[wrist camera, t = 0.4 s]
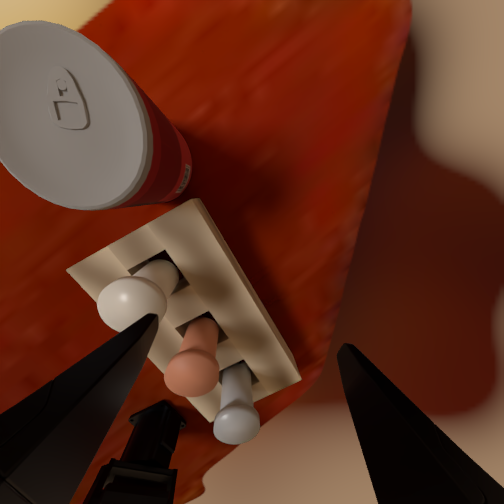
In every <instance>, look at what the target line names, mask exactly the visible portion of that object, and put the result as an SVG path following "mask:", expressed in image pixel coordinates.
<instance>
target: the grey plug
mask: <svg viewBox="0 0 504 504" xmlns="http://www.w3.org/2000/svg"><path fill="white" fill-rule="evenodd" d="M259 430H260V421H259V414H258V412H257V410H256V409H255V408H253V396H252V384H251V372H250V369H249V368H248V367H247V366H246V365H243V364H233V365H231V366H228V367H226V368H225V370H224V371H223V377H222V391H221V405H220V411H219V412H218V413H217V414H216V416H215V419H214V430H213V431H214V435H215V437H216V438H217V439H218V440H220V441H221V442H224V443H227V444H241V443H245V442H248V441H250V440H251V439H253V438H254V437H255V436H256V435H257V434H258V432H259Z"/></svg>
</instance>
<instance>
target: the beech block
mask: <svg viewBox="0 0 504 504" xmlns="http://www.w3.org/2000/svg"><path fill="white" fill-rule="evenodd" d="M163 250H166V251H167V253H168V254H169V256H170V257H171V258H172V260H173V261H174V263H175V264H176V265H177V267H178V268H179V270H180V271H181V272H182V274H183V275H184V278H182V279H180V280H179V282H178V284H177V285H176V287H175V288H174V290H173V292H172V293H171V295H170V296H169V298H168V299H167V311H166V313H165V315H164V317H163V319H162V321H161V322H160V324H159V328H158V332H157V334H156V336H155V339H154V341H153V344H152V346H151V348H150V351H149V353H148V356H147V357H148V358H149V359H150V360H151V361H152V362H153V363H154V364H155V365H156V366H157V367H158V368H159V369H160V370H161V371H162V372H163V373H164V374H165V371H166V368H167V366H168V363H169V361H170V360H171V358H172V357H173V356H174V355H176V354H177V353H179V350H180V347H181V344H182V342H183V339H184V336H185V333H186V331H187V328H188V325H189V324H190V322H191V321H193V319H194V318H196V317H197V316H199V315H201V314H203V313H205V312H207V311H210V313H211V314H212V316H213V317H214V318H215V320H216V321H217V325H218V328H219V334H218V342H217V350H216V360H217V361H218V363H219V368H220V369H219V380H218V383H217V385H216V386H215V388H214V389H213V390H212V391H210V392H209V393H207V394H205V395H202V396H199V397H186V398H187V399H188V400H189V401H190V402H191V403H192V404H193V405H194V406H195V407H196V408H197V410H198V411H199V412H200V413H201V414H202V415H203V416H204V417H205V418H206V419H207V420H208V421H209V422H212V421H214V419H215V416H216V414H217V413H218V412H219V411H220V405H221V391H222V377H223V371H224V370H225V368H226V367H228V366H231V365H233V364H235V363H237V362H239V361H241V360H243V359H244V360H245V362H244V363H242V364H243V365H246V366H247V367H248V368H249V369H250V372H251V384H252V396H253V402H255V401H257V400H259V399H262V398H264V397H266V396H268V395H270V394H272V393H274V392H277V391H279V390H281V389H283V388H285V387H287V386H289V385H291V384H294V383H296V382H298V381H300V380H302V379H301V376H300V374H299V371H298V368H297V365H296V362H295V360H294V357H293V354H292V353H291V351H290V349H289V348H288V346H287V344H286V343H285V341H284V339H283V338H282V336H281V334H280V332H279V331H278V329H277V327H276V326H275V324H274V322H273V321H272V319H271V317H270V316H269V314H268V312H267V311H266V309H265V307H264V306H263V304H262V302H261V301H260V299H259V297H258V295H257V294H256V292H255V290H254V289H253V287H252V285H251V284H250V282H249V280H248V279H247V277H246V275H245V274H244V272H243V270H242V269H241V267H240V265H239V264H238V262H237V260H236V258H235V257H234V255H233V253H232V252H231V250H230V248H229V247H228V245H227V243H226V242H225V240H224V238H223V237H222V235H221V233H220V232H219V230H218V228H217V226H216V225H215V223H214V221H213V220H212V218H211V216H210V215H209V213H208V211H207V210H206V208H205V206H204V205H203V203H202V201H201V200H200V198H195V199H190V200H189V201H187V202H185V203H183V204H181V205H180V206H178V207H176V208H174V209H173V210H171V211H169V212H167V213H166V214H164V215H162V216H160V217H158V218H157V219H155V220H153V221H151V222H150V223H148V224H146V225H144V226H142V227H141V228H139V229H137V230H135V231H134V232H132V233H130V234H128V235H127V236H125V237H123V238H121V239H119V240H118V241H116V242H114V243H112V244H111V245H109V246H107V247H105V248H103V249H102V250H100V251H98V252H96V253H95V254H93V255H91V256H89V257H88V258H86V259H84V260H82V261H80V262H79V263H77V264H75V265H73V266H72V267H70V268H68V269H66V271H67V272H68V273H69V274H70V275H71V276H72V277H73V278H74V279H75V280H76V281H77V282H78V283H79V284H80V285H81V286H82V288H83V289H84V290H85V291H86V292H87V293H88V294H89V295H90V296H91V297H92V298H93V299H94V300H95V301H96V302H97V301H98V297H99V295H100V293H101V291H102V290H103V289H104V288H105V287H107V286H108V285H109V284H111V283H112V282H114V281H115V280H117V279H119V278H121V277H125V276H133V275H134V274H135V273H136V272H138V271H139V270H140V269H141V268H143V267H144V266H145V265H147V264H148V263H149V261H148V260H147V259H149V258H150V257H152V256H154V255H156V254H158V253H159V252H161V251H163Z"/></svg>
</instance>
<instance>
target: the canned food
mask: <svg viewBox="0 0 504 504" xmlns="http://www.w3.org/2000/svg"><path fill="white" fill-rule="evenodd" d="M0 161H1V162H2V164H3V165H4V166H5V167H6V168H7V170H8V171H9V172H10V173H11V174H12V175H13V176H14V177H15V178H16V179H17V180H18V181H20V182H21V183H22V184H23V185H24V186H25V187H27V188H28V189H30V190H31V191H32V192H34V193H35V194H37V195H38V196H40V197H42V198H44V199H46V200H48V201H50V202H52V203H54V204H57V205H61V206H64V207H67V208H72V209H80V210H104V209H117V208H125V207H133V206H141V205H149V204H157V203H165V202H168V201H172V200H173V199H175V198H177V197H178V196H179V195H181V194H182V193H183V192H184V190H185V189H186V187H187V186H188V184H189V181H190V178H191V174H192V159H191V154H190V150H189V147H188V145H187V143H186V141H185V139H184V138H183V136H182V135H181V134H180V132H179V131H178V130H177V129H176V128H175V126H174V125H173V124H172V123H171V122H170V121H169V120H168V119H167V117H166V116H165V115H164V114H163V113H162V112H161V111H160V110H159V108H158V107H157V106H156V105H155V104H154V103H153V102H152V100H151V99H150V98H149V97H148V96H147V95H146V94H145V93H144V91H143V90H142V89H141V88H140V87H139V86H138V85H137V84H136V82H135V81H134V80H133V79H132V78H131V77H130V76H129V75H128V74H127V73H126V72H125V71H124V70H123V69H122V67H121V66H119V65H118V64H117V63H116V62H115V61H114V60H113V59H112V58H111V57H110V56H109V55H108V54H107V53H106V52H104V51H103V50H102V49H101V48H100V47H99V46H98V45H96V44H95V43H93V42H92V41H90V40H89V39H88V38H86V37H85V36H83V35H82V34H80V33H78V32H76V31H74V30H72V29H69V28H67V27H65V26H63V25H60V24H55V23H51V22H46V21H22V22H19V23H16V24H12V25H9V26H6V27H5V28H3V29H2V30H0Z"/></svg>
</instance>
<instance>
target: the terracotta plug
mask: <svg viewBox="0 0 504 504" xmlns="http://www.w3.org/2000/svg"><path fill="white" fill-rule="evenodd" d="M218 334H219V328H218V325H217V323H216V322H215V321H213V320H212V319H210V318H206V317H200V318H196V319H194V320H193V321H191V322H190V324H189V325H188V328H187V331H186V333H185V336H184V339H183V342H182V344H181V347H180V350H179V353H177V354H176V355H174V356H173V357H172V358H171V360H170V361H169V363H168V366H167V368H166V371H165V374H164V380H165V383H166V385H167V387H168V388H169V389H170V390H171V391H172V392H174V393H175V394H178V395H180V396H184V397H199V396H202V395H205V394H207V393H209V392H210V391H212V390H213V389H214V388H215V386H216V385H217V383H218V380H219V369H220V368H219V363H218V361H217V360H216V350H217V342H218Z"/></svg>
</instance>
